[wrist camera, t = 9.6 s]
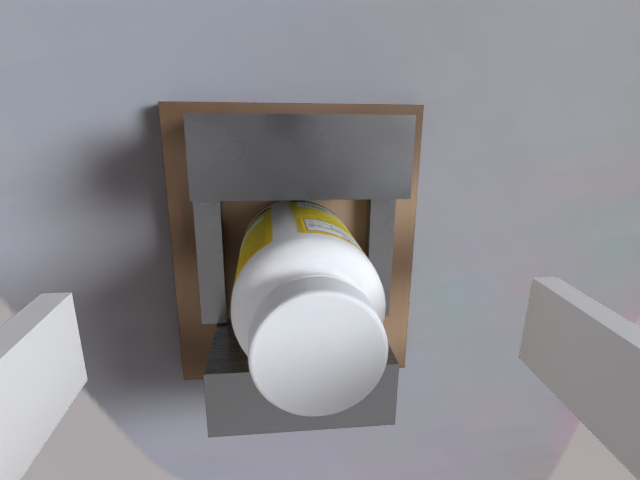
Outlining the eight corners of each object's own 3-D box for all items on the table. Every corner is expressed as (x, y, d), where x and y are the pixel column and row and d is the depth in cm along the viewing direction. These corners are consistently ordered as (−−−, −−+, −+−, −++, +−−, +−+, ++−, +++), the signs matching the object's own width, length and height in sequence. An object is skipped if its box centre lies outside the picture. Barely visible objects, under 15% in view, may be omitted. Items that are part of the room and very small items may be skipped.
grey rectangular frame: (189, 113, 19) (161, 112, 14) (395, 115, 20) (435, 115, 15) (208, 370, 22) (191, 438, 18) (382, 360, 23) (410, 423, 19)
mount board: (163, 102, 19) (158, 101, 19) (416, 105, 21) (423, 104, 20) (187, 369, 23) (183, 379, 22) (399, 357, 25) (404, 367, 24)
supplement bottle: (258, 312, 22) (250, 459, 12) (227, 213, 20) (190, 295, 11) (359, 285, 22) (426, 409, 13) (337, 184, 20) (394, 241, 11)
